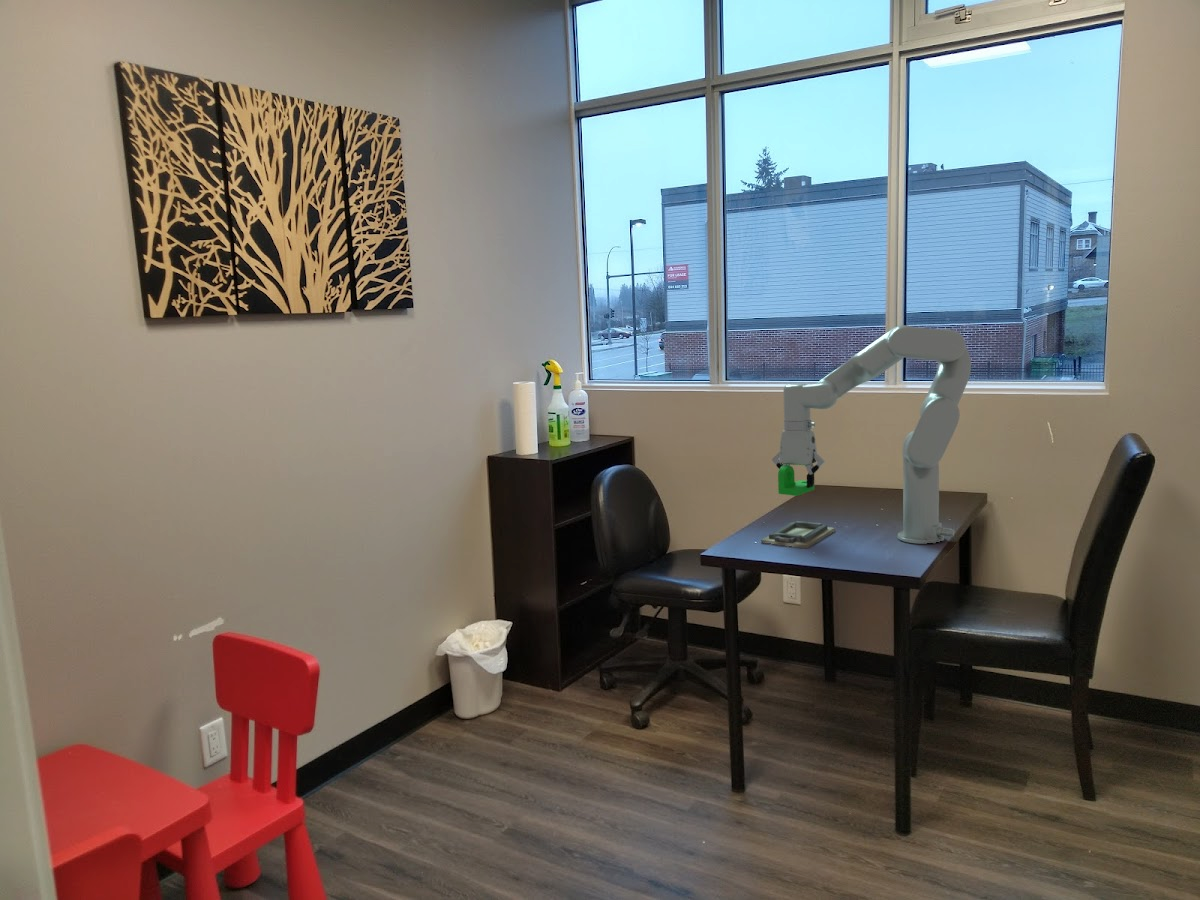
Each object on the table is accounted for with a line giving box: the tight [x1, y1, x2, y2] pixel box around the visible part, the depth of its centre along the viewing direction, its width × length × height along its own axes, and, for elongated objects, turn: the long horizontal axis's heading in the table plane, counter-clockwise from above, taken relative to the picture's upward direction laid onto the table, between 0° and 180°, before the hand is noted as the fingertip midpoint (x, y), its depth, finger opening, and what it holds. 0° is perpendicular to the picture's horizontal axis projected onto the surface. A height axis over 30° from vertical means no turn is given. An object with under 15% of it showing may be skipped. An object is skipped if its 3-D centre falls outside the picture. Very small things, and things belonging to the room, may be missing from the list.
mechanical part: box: [777, 465, 815, 497], centre depth 253 cm, size 12×6×8 cm, turn 135°
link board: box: [760, 520, 836, 550], centre depth 256 cm, size 14×22×3 cm, turn 144°
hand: (798, 485), depth 254 cm, fingers closed on mechanical part, 6 cm apart
